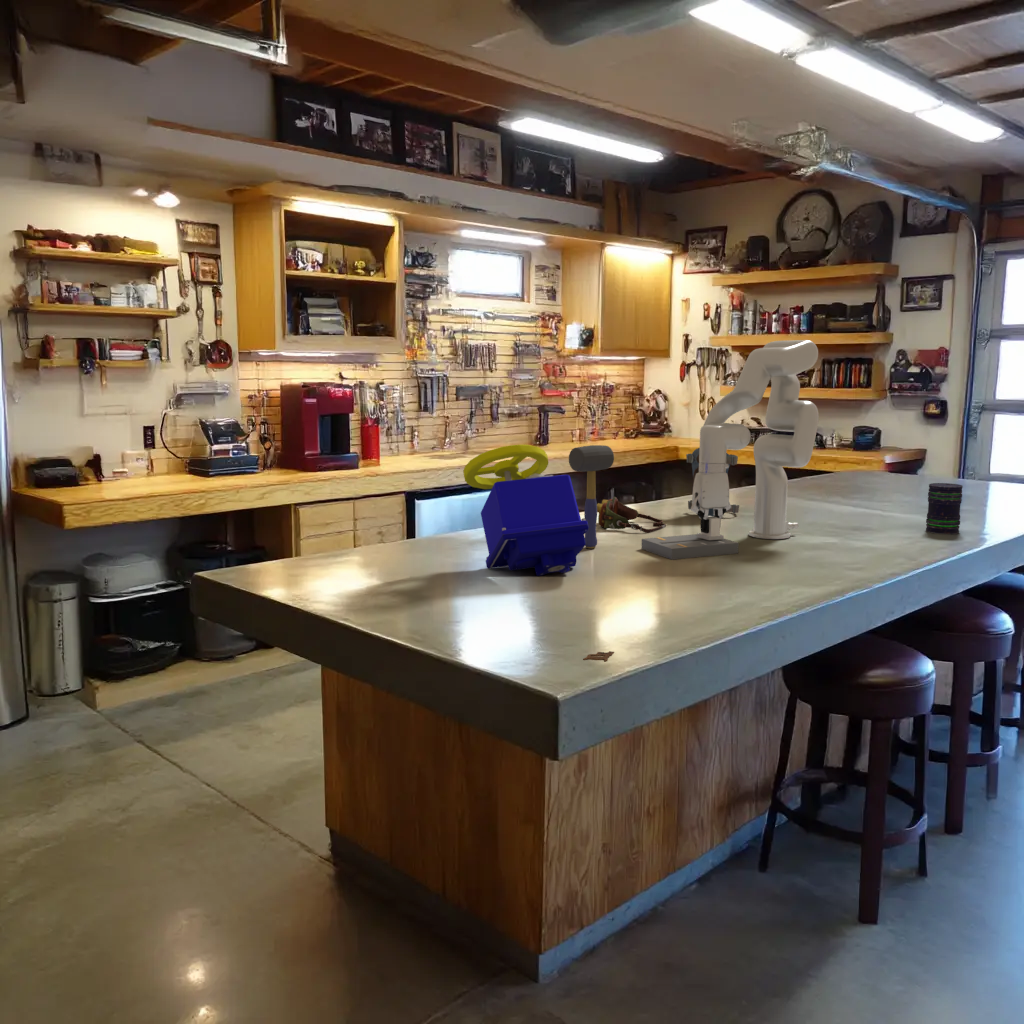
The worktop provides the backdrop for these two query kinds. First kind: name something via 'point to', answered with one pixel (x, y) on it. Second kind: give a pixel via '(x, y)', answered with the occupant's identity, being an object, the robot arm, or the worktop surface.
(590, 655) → the brown piece
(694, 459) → the knee pad
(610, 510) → the goggles
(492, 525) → the blue valve actuator
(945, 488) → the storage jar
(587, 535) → the rubber mallet
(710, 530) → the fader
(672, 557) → the console
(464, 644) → the worktop surface
